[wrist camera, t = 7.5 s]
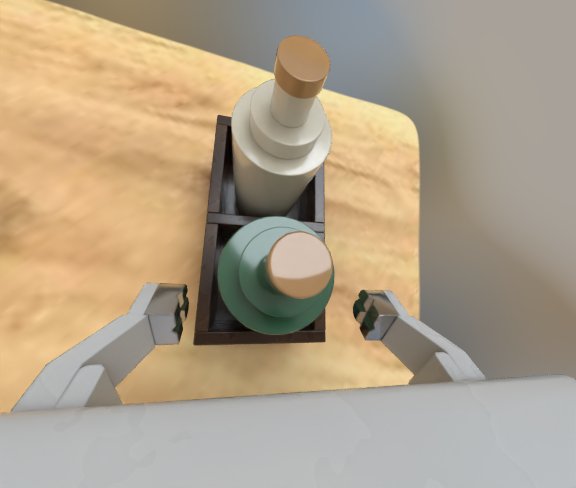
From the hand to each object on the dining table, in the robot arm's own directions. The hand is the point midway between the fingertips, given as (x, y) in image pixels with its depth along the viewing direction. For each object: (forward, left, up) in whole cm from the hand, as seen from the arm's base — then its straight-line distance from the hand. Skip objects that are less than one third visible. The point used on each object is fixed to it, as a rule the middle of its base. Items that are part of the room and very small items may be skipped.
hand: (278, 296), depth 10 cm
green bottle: (-1, +1, -10) cm, 10 cm away
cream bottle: (-4, +8, -10) cm, 13 cm away
